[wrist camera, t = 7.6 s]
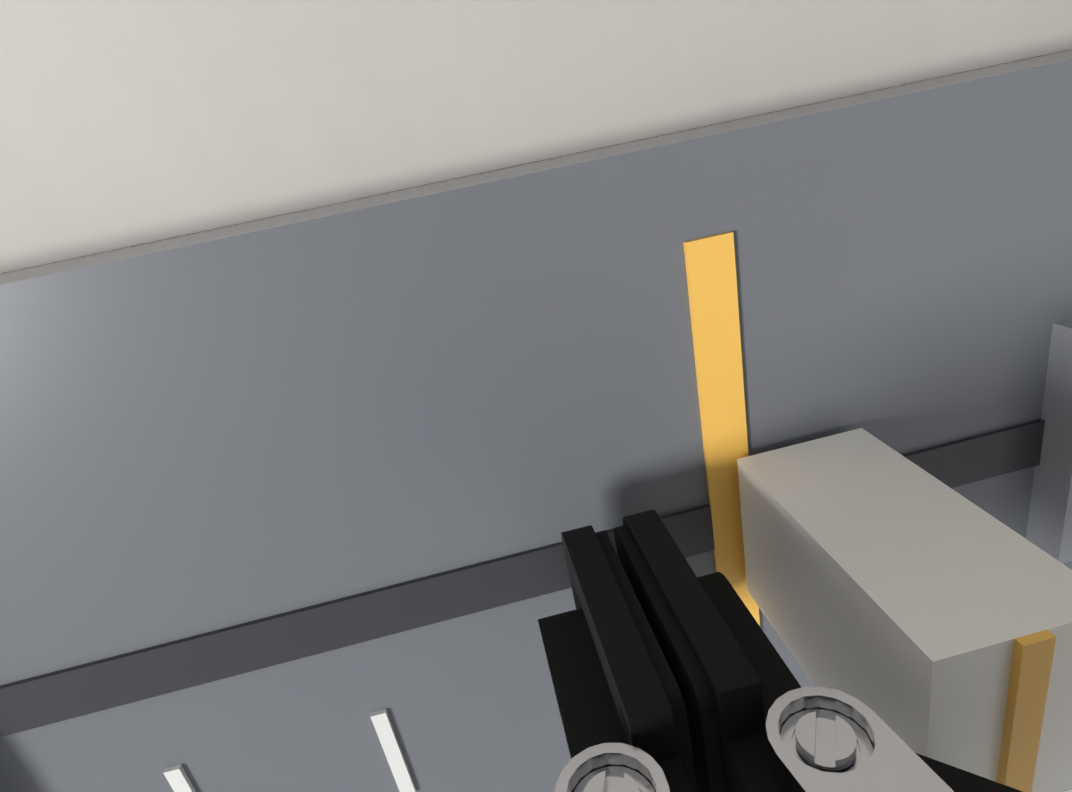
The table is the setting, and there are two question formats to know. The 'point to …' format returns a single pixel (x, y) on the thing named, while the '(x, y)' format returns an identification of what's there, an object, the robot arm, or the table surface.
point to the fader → (914, 605)
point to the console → (497, 426)
